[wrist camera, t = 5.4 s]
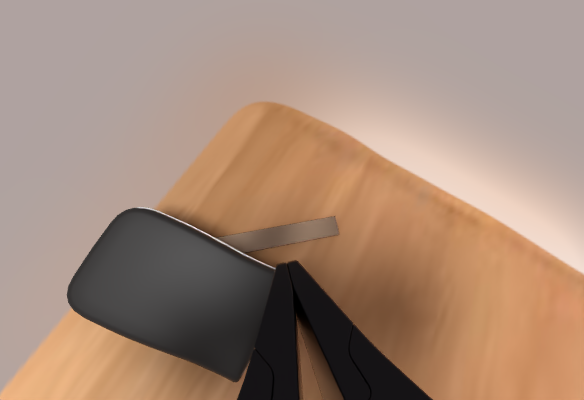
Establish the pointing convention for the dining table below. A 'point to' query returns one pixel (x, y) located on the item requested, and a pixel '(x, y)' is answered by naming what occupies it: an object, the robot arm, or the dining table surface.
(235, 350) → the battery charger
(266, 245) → the walnut strip
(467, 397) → the dining table surface
